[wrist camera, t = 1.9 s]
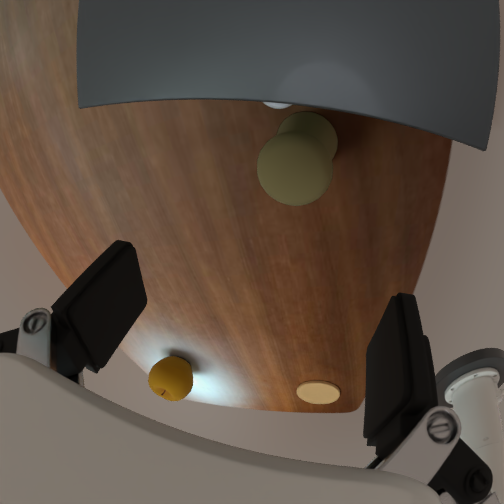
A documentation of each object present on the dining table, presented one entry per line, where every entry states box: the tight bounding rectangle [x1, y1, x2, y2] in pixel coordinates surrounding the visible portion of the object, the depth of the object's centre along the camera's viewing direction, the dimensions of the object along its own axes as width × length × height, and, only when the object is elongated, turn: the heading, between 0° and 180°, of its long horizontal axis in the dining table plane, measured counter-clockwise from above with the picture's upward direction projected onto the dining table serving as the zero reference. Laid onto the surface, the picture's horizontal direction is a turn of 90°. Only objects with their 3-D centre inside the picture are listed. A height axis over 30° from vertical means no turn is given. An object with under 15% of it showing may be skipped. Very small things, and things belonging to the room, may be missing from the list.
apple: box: [148, 356, 193, 401], centre depth 51 cm, size 9×8×9 cm
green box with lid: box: [77, 0, 500, 151], centre depth 14 cm, size 13×6×21 cm, turn 87°
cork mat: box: [297, 380, 340, 404], centre depth 49 cm, size 8×8×1 cm
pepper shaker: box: [257, 112, 338, 206], centre depth 22 cm, size 6×6×11 cm
